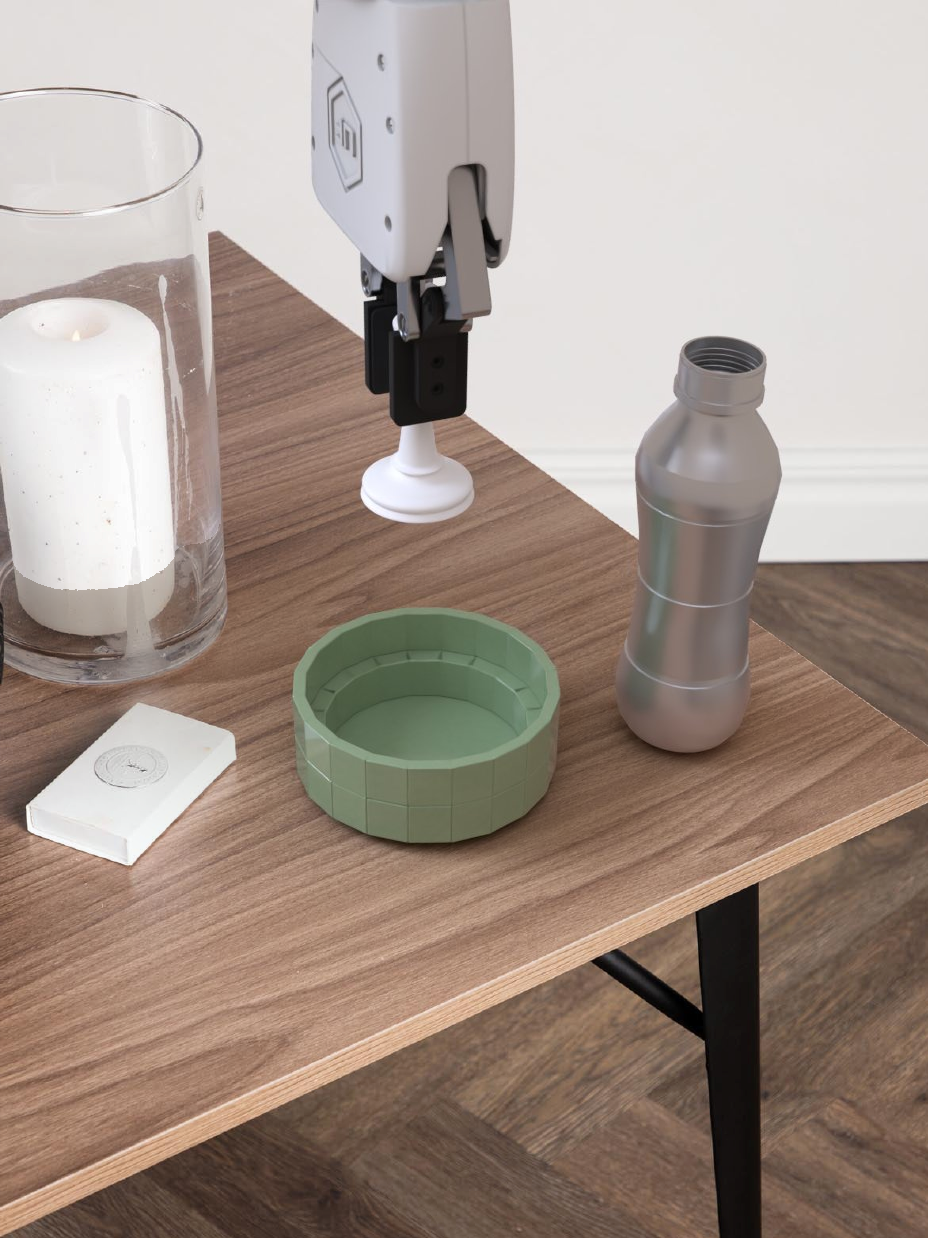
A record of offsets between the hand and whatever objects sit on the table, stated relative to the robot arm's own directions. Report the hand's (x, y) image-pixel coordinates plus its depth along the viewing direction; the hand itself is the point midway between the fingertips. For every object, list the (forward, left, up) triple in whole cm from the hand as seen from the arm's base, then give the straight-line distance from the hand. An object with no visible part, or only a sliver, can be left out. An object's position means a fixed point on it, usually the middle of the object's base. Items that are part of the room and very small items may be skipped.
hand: (415, 399), depth 71 cm
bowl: (+1, -2, -18) cm, 18 cm away
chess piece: (0, 0, -5) cm, 5 cm away
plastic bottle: (+12, +5, -18) cm, 23 cm away
